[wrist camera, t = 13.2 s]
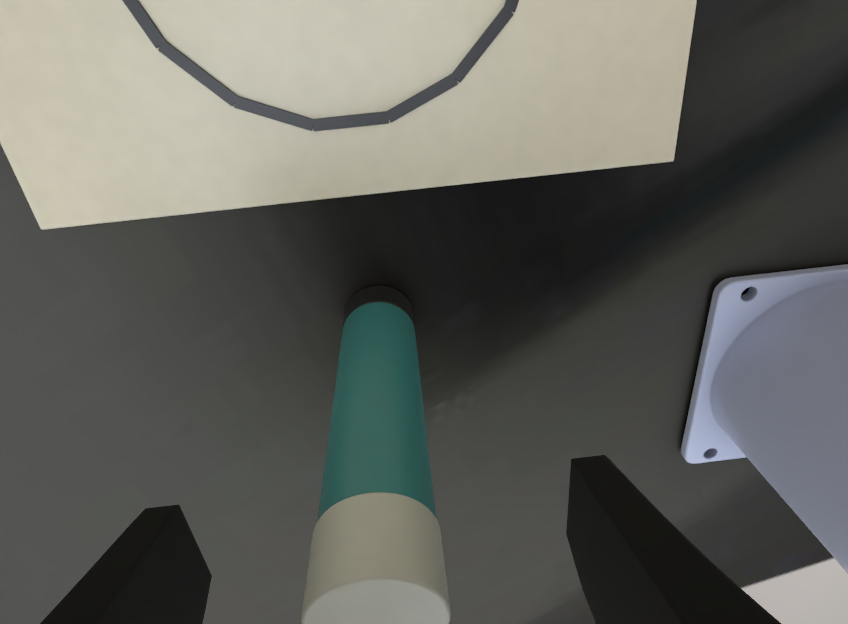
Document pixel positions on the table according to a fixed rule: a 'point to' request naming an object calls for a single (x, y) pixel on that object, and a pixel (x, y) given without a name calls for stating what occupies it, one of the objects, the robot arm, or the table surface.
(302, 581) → the table surface
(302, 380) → the table surface
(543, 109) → the drawing pad
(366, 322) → the marker
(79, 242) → the table surface
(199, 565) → the robot arm
